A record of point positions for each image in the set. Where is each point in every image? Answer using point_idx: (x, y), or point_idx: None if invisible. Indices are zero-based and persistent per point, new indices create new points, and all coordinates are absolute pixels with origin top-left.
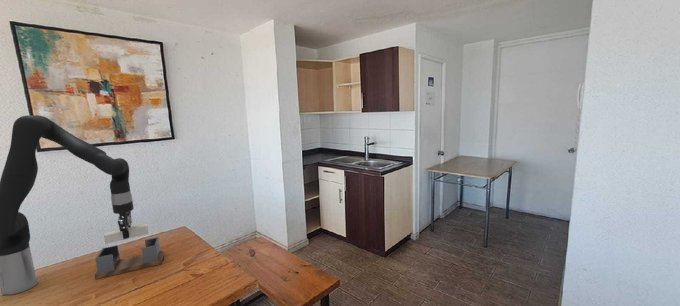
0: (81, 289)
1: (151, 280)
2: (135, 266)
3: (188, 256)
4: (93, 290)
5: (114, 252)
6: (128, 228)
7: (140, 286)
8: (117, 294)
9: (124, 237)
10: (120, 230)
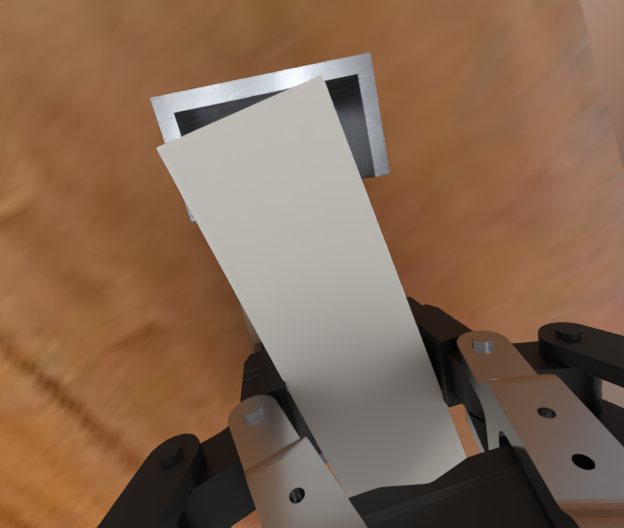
0: (88, 90)
1: (117, 419)
2: (241, 307)
3: None
4: (66, 171)
5: (354, 154)
6: (392, 402)
7: (69, 394)
8: (7, 320)
9: (249, 364)
10: (139, 479)
